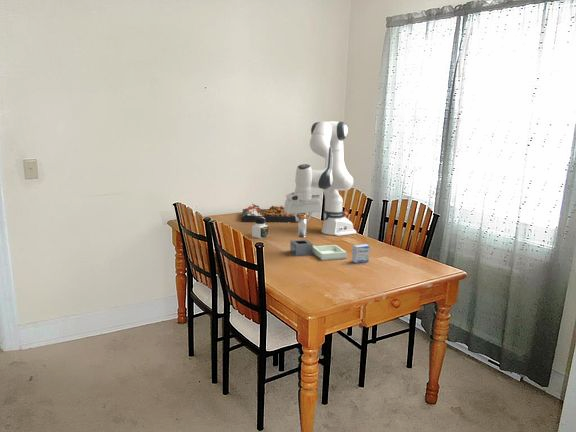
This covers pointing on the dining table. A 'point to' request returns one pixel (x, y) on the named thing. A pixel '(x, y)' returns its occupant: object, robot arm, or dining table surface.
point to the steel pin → (302, 225)
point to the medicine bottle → (260, 228)
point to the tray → (329, 252)
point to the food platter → (268, 214)
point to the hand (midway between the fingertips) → (302, 220)
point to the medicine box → (360, 253)
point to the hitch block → (301, 247)
